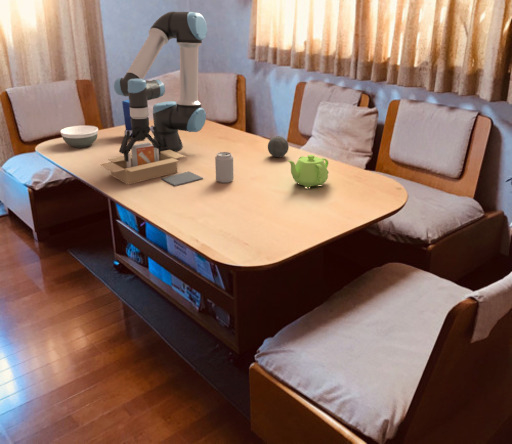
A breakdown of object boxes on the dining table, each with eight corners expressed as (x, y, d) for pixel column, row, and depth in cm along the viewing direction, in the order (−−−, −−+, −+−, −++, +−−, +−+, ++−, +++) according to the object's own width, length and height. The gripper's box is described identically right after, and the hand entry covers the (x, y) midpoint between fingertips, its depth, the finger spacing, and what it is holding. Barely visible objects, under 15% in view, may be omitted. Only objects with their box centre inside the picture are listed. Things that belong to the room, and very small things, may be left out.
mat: (189, 172, 236) (188, 171, 235) (203, 179, 228) (203, 177, 228) (161, 179, 228) (161, 178, 227) (174, 186, 220) (174, 185, 220)
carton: (166, 160, 252) (165, 147, 249) (190, 171, 237) (189, 158, 234) (97, 175, 232) (95, 162, 229) (119, 189, 217) (118, 174, 214)
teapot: (319, 194, 212) (321, 164, 207) (286, 189, 217) (287, 159, 212) (331, 181, 226) (333, 152, 221) (299, 176, 231) (300, 148, 226)
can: (236, 178, 228) (235, 151, 223) (229, 184, 222) (229, 157, 217) (220, 177, 231) (219, 150, 226) (213, 182, 224) (212, 155, 219)
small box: (138, 177, 230) (135, 148, 224) (133, 173, 235) (130, 144, 229) (156, 174, 234) (153, 145, 229) (150, 170, 239) (147, 142, 233)
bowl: (107, 143, 277) (106, 128, 274) (79, 152, 263) (77, 136, 260) (83, 138, 287) (81, 123, 283) (54, 147, 272) (52, 131, 269)
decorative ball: (277, 161, 251) (277, 140, 247) (263, 156, 258) (263, 136, 253) (292, 157, 257) (293, 136, 253) (278, 152, 264) (278, 132, 259)
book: (147, 139, 285) (143, 102, 276) (138, 141, 281) (134, 103, 273) (133, 134, 294) (129, 98, 286) (124, 136, 291) (120, 99, 283)
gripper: (160, 111, 234) (164, 158, 242) (107, 119, 219) (113, 168, 228) (169, 114, 228) (172, 162, 237) (116, 122, 214) (121, 173, 222)
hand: (143, 165), depth 232 cm, fingers open, 13 cm apart
